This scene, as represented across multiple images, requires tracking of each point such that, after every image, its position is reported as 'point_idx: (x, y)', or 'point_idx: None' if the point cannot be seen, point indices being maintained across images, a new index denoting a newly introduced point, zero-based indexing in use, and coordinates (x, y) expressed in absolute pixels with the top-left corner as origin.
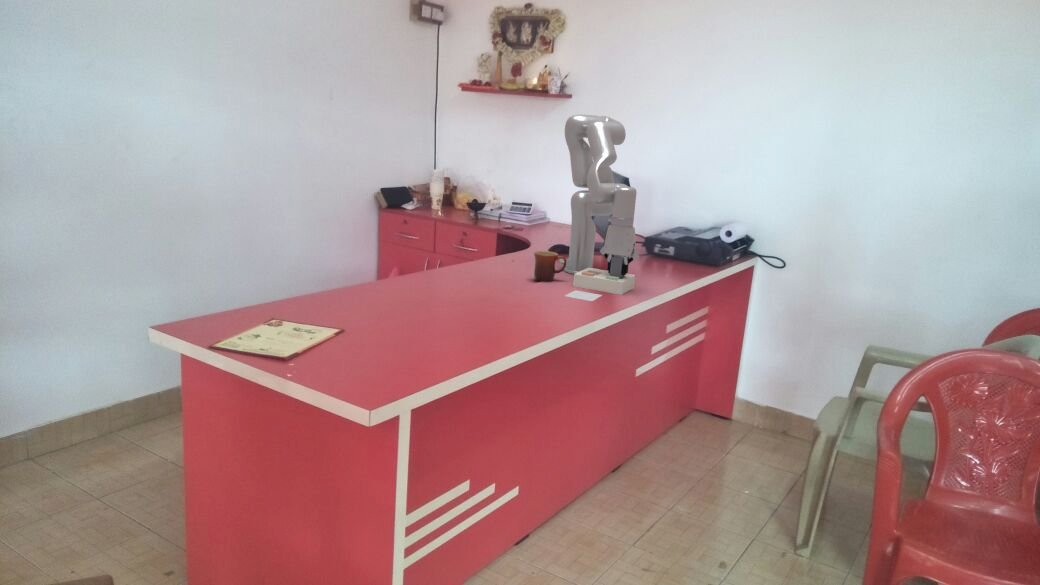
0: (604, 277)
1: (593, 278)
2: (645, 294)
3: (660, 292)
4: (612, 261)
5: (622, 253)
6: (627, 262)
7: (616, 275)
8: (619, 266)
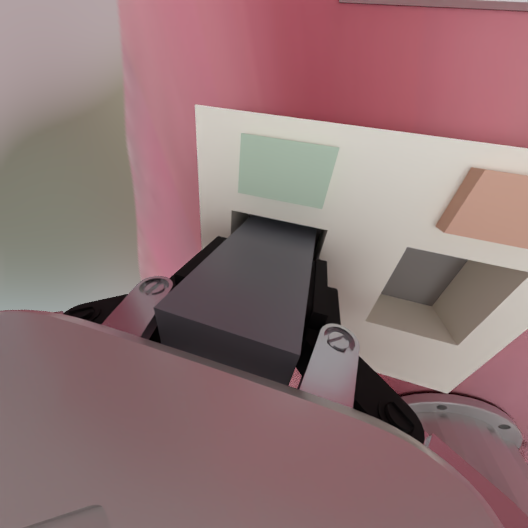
0: (349, 194)
1: (454, 140)
2: (170, 224)
3: (150, 273)
4: (289, 307)
5: (53, 358)
6: (135, 288)
7: (264, 234)
8: (224, 264)
